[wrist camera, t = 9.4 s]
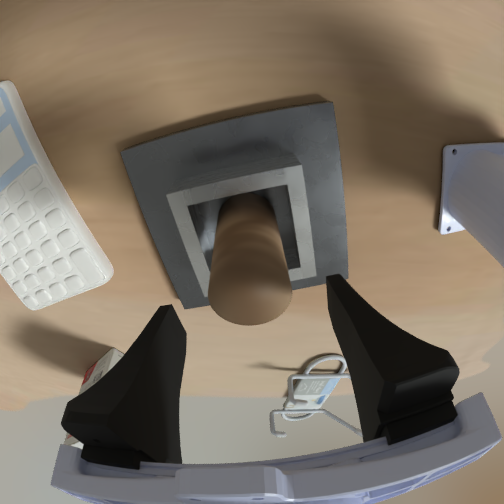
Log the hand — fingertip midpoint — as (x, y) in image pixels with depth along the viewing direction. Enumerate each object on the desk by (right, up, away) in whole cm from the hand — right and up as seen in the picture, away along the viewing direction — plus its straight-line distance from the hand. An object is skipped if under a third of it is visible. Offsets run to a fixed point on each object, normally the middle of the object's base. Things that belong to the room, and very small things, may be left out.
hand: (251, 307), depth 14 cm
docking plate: (0, +5, +8) cm, 10 cm away
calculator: (-21, +7, +7) cm, 23 cm away
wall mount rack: (+10, -15, +22) cm, 29 cm away
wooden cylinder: (0, +5, +7) cm, 9 cm away
